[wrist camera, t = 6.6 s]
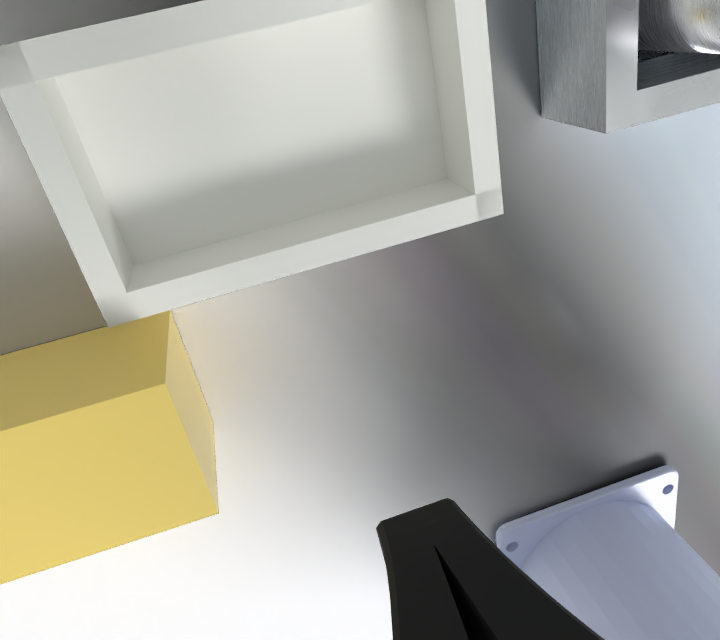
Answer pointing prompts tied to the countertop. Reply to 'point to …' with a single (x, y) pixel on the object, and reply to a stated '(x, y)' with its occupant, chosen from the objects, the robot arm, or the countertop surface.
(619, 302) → the countertop surface
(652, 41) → the stop pin
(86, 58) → the tray
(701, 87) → the socket block
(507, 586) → the robot arm
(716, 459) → the countertop surface
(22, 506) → the block
